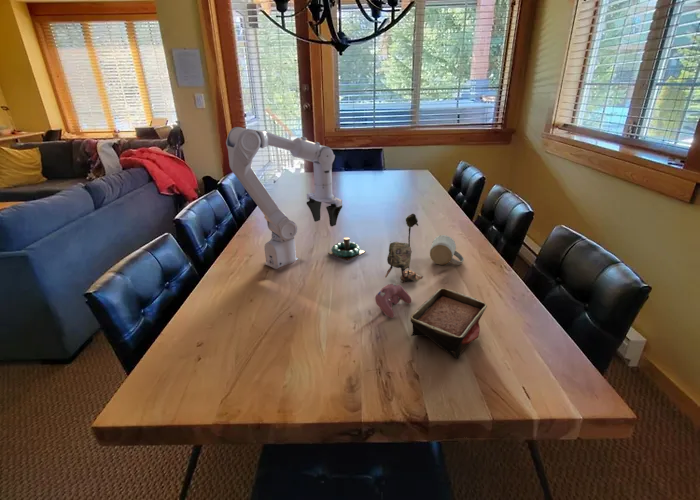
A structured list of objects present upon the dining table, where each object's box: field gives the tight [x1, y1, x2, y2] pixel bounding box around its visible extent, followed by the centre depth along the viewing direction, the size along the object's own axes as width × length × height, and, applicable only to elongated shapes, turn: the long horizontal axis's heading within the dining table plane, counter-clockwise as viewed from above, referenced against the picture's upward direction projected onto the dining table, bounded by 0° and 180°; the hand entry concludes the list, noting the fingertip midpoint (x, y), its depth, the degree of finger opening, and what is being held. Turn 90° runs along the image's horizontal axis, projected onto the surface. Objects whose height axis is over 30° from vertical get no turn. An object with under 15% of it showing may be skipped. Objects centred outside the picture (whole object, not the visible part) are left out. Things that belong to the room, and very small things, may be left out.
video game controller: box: [374, 282, 413, 319], centre depth 96 cm, size 10×5×7 cm, turn 141°
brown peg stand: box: [328, 237, 366, 261], centre depth 126 cm, size 9×9×6 cm
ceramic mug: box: [429, 234, 465, 266], centre depth 120 cm, size 11×8×8 cm
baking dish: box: [410, 287, 488, 360], centre depth 84 cm, size 14×18×10 cm
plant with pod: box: [385, 212, 424, 284], centre depth 106 cm, size 8×11×20 cm
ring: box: [330, 241, 361, 257], centre depth 126 cm, size 10×10×2 cm
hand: (325, 223), depth 126 cm, fingers open, 7 cm apart
